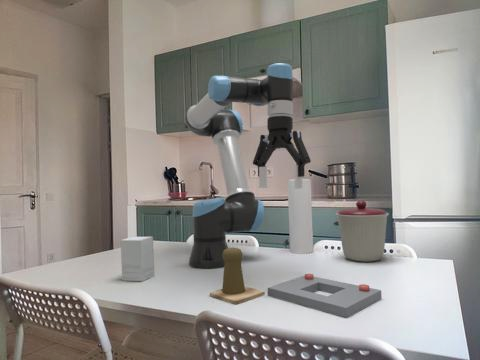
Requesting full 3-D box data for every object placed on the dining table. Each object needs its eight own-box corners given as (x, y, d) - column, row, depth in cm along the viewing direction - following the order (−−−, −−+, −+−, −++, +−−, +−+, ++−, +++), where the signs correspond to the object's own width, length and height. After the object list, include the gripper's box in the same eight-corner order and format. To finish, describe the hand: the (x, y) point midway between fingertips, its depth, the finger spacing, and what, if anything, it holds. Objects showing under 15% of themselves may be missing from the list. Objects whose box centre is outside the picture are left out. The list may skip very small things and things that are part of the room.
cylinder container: (313, 253, 138) (310, 177, 138) (289, 253, 140) (286, 178, 140) (313, 249, 147) (310, 178, 148) (290, 249, 149) (288, 178, 150)
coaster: (209, 295, 90) (209, 292, 90) (238, 287, 96) (238, 284, 96) (235, 304, 82) (235, 301, 82) (264, 294, 89) (264, 291, 89)
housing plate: (267, 295, 88) (267, 283, 88) (305, 281, 99) (305, 271, 99) (346, 317, 72) (345, 303, 72) (381, 298, 83) (381, 286, 83)
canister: (346, 252, 139) (344, 199, 139) (395, 256, 128) (393, 199, 128) (329, 261, 124) (327, 202, 124) (383, 267, 113) (381, 202, 114)
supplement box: (155, 275, 112) (154, 236, 112) (141, 282, 105) (140, 240, 105) (135, 274, 114) (134, 235, 114) (121, 280, 107) (119, 239, 107)
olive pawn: (221, 288, 93) (220, 246, 93) (244, 286, 94) (242, 245, 94) (222, 295, 87) (220, 251, 87) (246, 293, 88) (244, 249, 88)
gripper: (241, 120, 111) (241, 187, 111) (307, 109, 93) (307, 189, 93) (258, 123, 116) (257, 187, 116) (323, 113, 98) (322, 188, 98)
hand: (279, 188), depth 105 cm, fingers open, 13 cm apart
